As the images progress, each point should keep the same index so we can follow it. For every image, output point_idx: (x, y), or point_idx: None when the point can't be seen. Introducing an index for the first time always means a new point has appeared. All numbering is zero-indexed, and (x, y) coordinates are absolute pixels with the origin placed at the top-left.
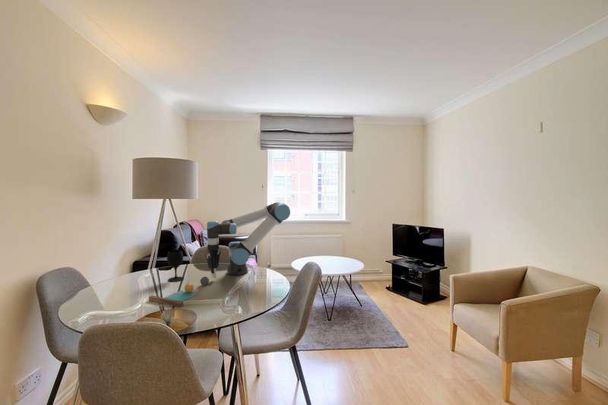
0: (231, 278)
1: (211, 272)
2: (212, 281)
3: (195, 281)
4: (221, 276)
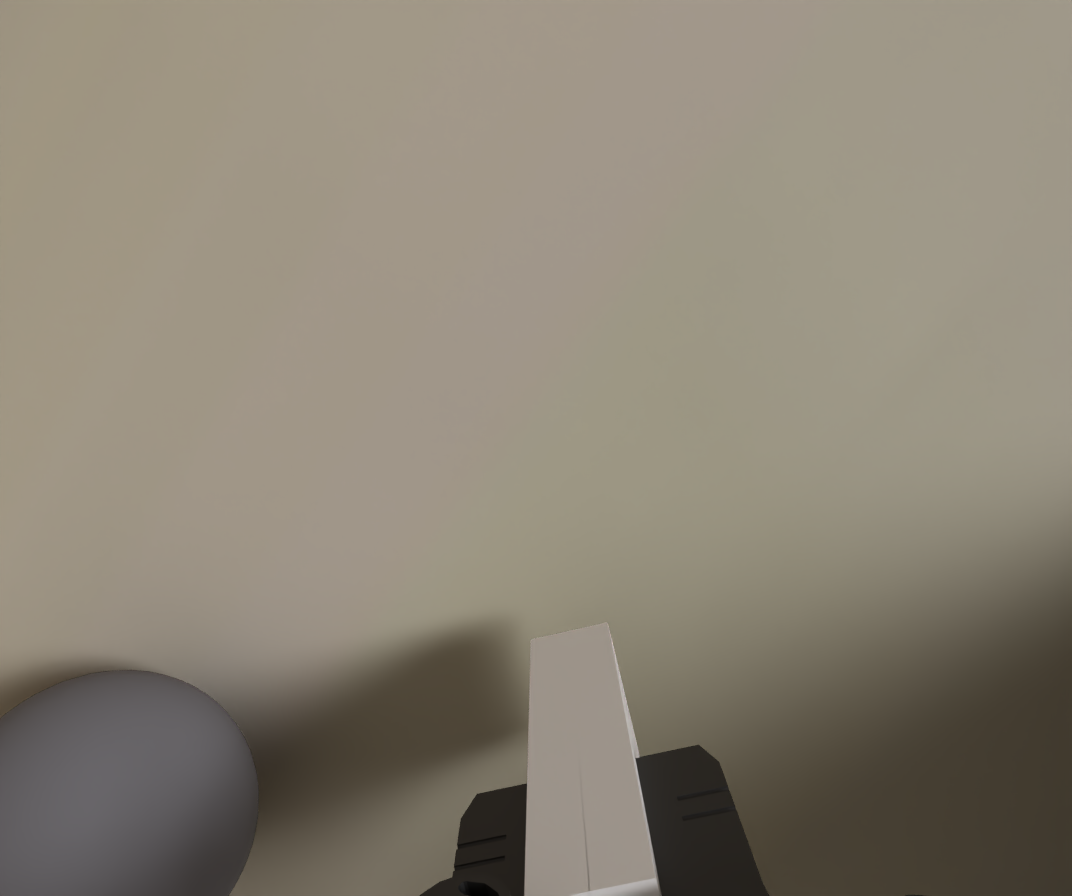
0: (1010, 891)
1: (464, 845)
2: (501, 667)
3: (143, 223)
4: (1000, 511)
